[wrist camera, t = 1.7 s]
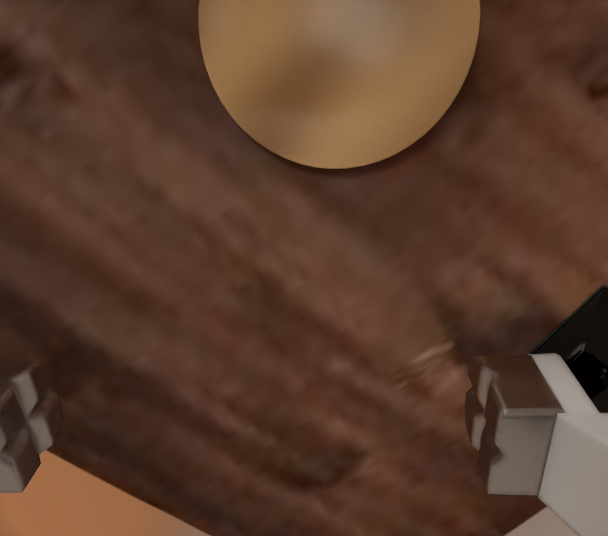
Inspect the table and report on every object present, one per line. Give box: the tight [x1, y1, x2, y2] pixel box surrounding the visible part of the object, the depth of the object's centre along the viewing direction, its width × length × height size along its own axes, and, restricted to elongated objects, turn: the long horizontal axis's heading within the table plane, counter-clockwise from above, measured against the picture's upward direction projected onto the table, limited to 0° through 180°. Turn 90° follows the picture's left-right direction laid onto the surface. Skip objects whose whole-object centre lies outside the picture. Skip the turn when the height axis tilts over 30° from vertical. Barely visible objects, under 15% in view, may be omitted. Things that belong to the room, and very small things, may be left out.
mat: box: [198, 0, 481, 169], centre depth 28 cm, size 15×15×1 cm
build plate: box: [530, 286, 608, 413], centre depth 35 cm, size 12×7×5 cm, turn 146°
